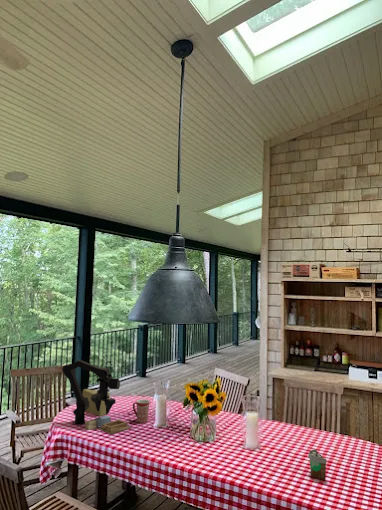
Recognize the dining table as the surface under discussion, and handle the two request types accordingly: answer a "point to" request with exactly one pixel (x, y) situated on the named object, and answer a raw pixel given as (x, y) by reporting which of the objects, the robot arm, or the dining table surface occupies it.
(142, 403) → the mug
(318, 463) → the food container
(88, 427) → the tan rectangular block
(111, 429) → the tray
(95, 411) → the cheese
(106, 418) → the grey block
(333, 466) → the dining table surface
